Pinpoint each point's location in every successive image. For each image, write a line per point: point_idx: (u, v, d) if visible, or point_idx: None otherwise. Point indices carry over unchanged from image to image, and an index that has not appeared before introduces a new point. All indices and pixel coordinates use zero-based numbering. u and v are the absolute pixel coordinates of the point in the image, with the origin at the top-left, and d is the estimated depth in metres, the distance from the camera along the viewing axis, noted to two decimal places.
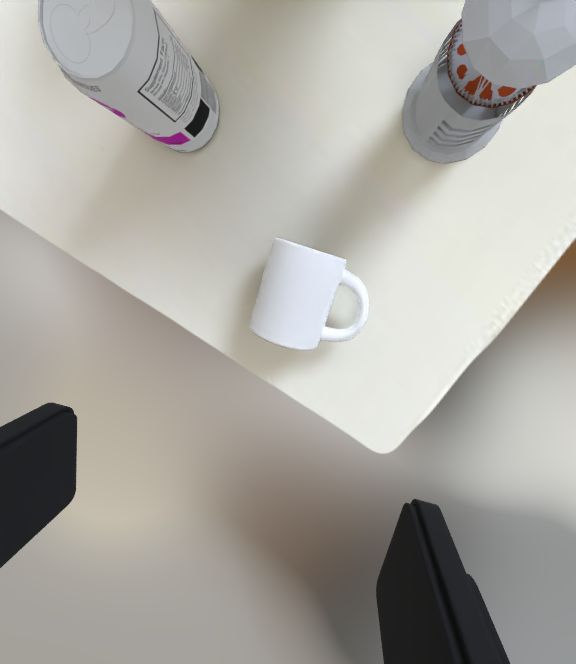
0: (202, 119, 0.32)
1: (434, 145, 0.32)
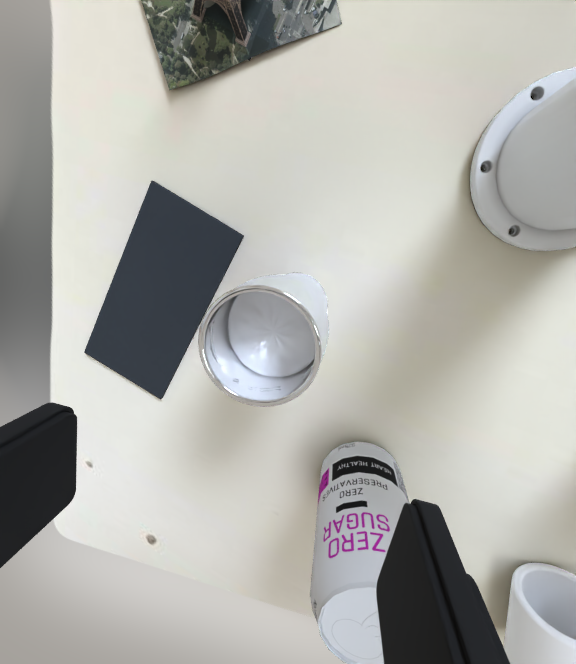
0: None
1: None
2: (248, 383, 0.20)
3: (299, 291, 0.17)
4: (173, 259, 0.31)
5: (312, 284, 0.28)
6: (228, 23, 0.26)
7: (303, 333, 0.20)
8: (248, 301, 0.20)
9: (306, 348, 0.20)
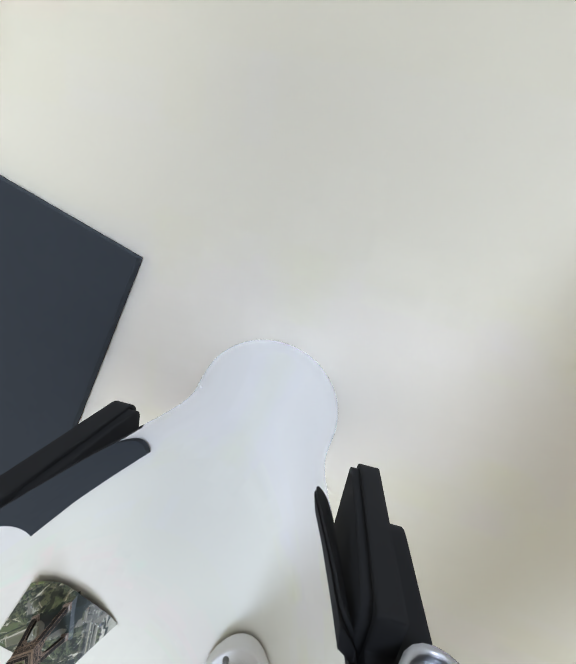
0: None
1: None
2: None
3: None
4: None
5: (300, 381, 0.11)
6: None
7: None
8: None
9: None
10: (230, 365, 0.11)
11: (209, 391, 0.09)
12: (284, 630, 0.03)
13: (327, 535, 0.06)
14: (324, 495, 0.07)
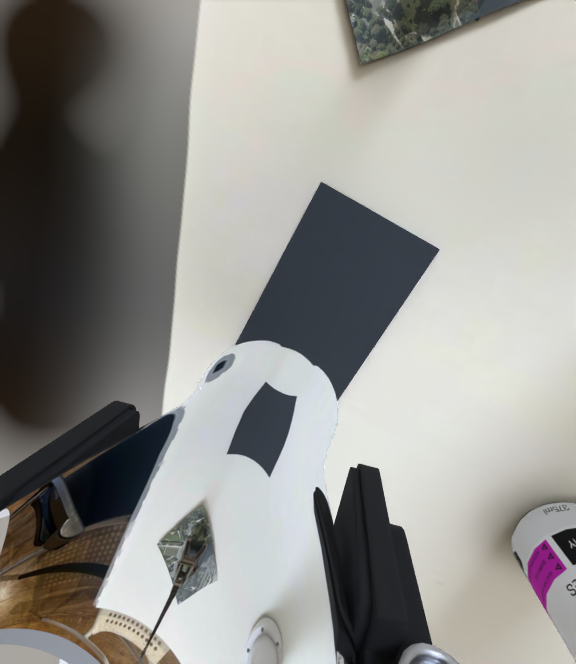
0: None
1: None
2: None
3: None
4: (340, 280, 0.25)
5: (299, 382, 0.11)
6: None
7: None
8: None
9: None
10: (229, 366, 0.11)
11: (208, 393, 0.09)
12: (283, 635, 0.03)
13: (327, 538, 0.06)
14: (324, 497, 0.07)
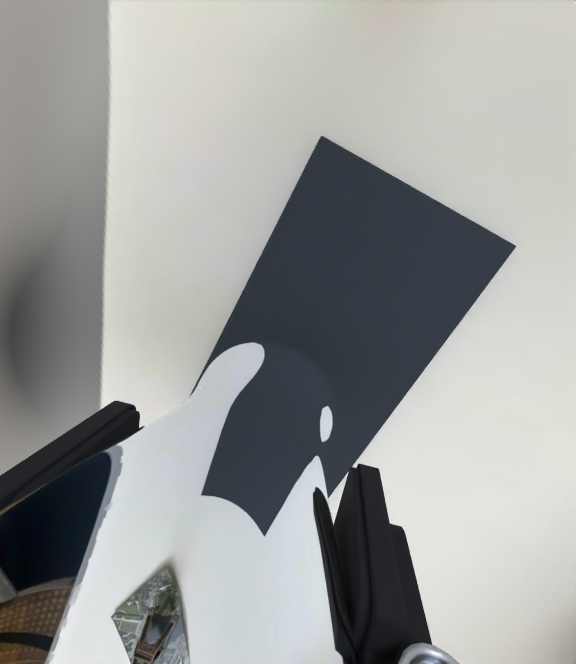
0: None
1: None
2: None
3: None
4: (352, 295, 0.16)
5: (299, 382, 0.11)
6: None
7: None
8: None
9: None
10: (229, 366, 0.11)
11: (208, 393, 0.09)
12: (283, 635, 0.03)
13: (326, 538, 0.06)
14: (323, 497, 0.07)
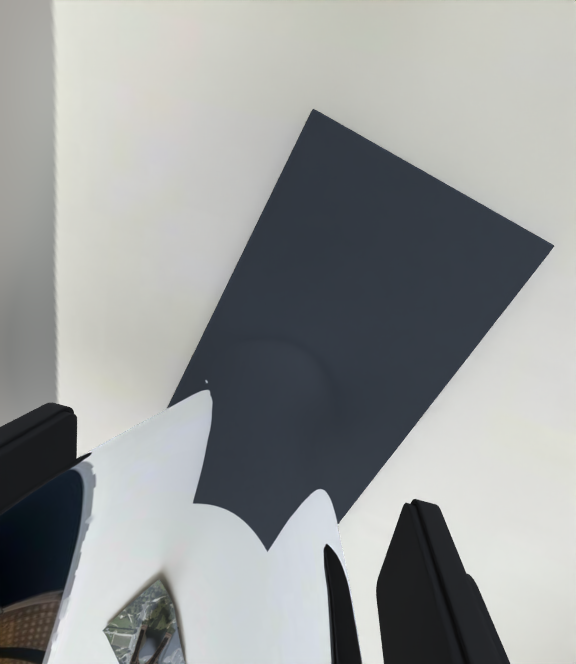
0: None
1: None
2: None
3: None
4: (351, 305, 0.13)
5: (300, 375, 0.12)
6: None
7: None
8: None
9: None
10: (234, 361, 0.12)
11: (215, 384, 0.10)
12: (293, 577, 0.04)
13: (327, 510, 0.06)
14: (324, 478, 0.08)
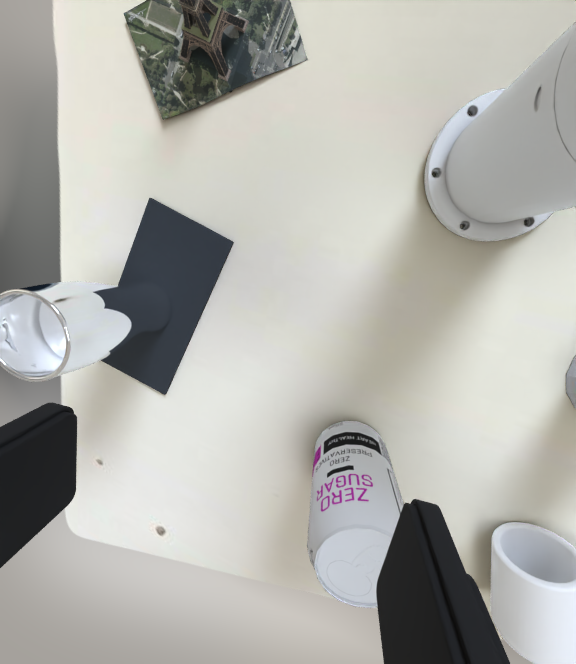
0: None
1: None
2: (48, 367, 0.25)
3: (63, 292, 0.23)
4: (171, 266, 0.35)
5: (147, 289, 0.33)
6: (211, 62, 0.30)
7: None
8: None
9: None
10: (125, 285, 0.34)
11: None
12: (103, 293, 0.26)
13: (126, 301, 0.28)
14: (134, 302, 0.30)
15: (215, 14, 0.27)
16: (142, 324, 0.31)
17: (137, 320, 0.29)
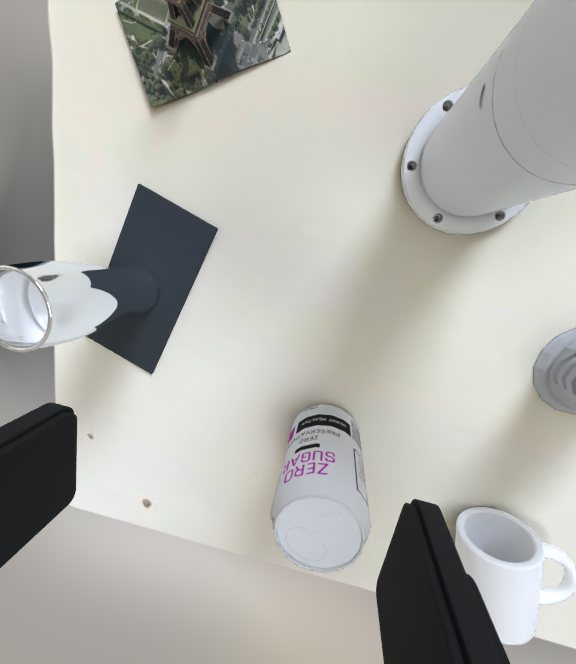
0: None
1: None
2: (34, 340, 0.27)
3: (48, 270, 0.24)
4: (158, 250, 0.36)
5: (134, 271, 0.35)
6: (197, 53, 0.31)
7: None
8: None
9: None
10: None
11: None
12: (87, 272, 0.28)
13: (110, 281, 0.30)
14: (119, 283, 0.31)
15: (199, 6, 0.27)
16: (127, 304, 0.33)
17: (121, 300, 0.31)
